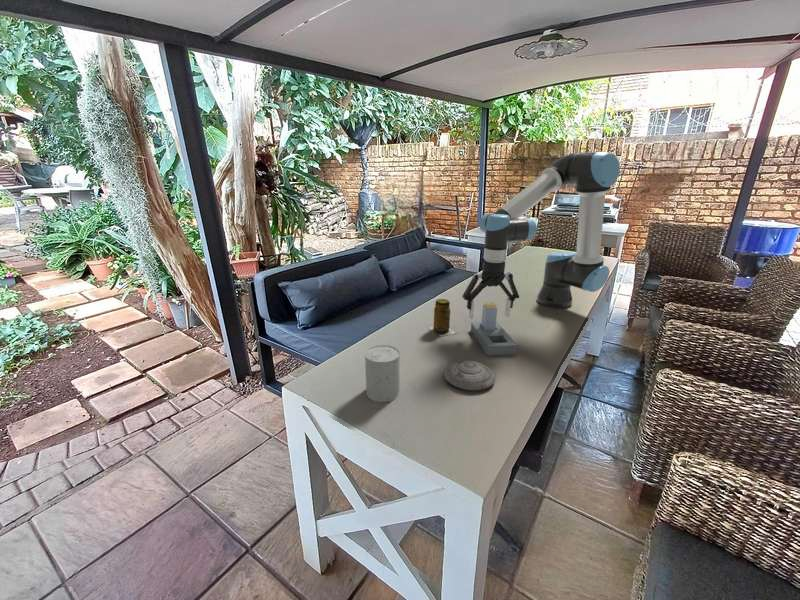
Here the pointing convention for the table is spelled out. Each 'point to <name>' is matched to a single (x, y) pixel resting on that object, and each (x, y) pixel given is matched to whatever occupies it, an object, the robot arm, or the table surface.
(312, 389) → the table surface
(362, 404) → the table surface
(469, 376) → the flying saucer
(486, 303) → the plug
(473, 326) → the panel
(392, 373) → the pale grey cylinder
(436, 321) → the condiment
